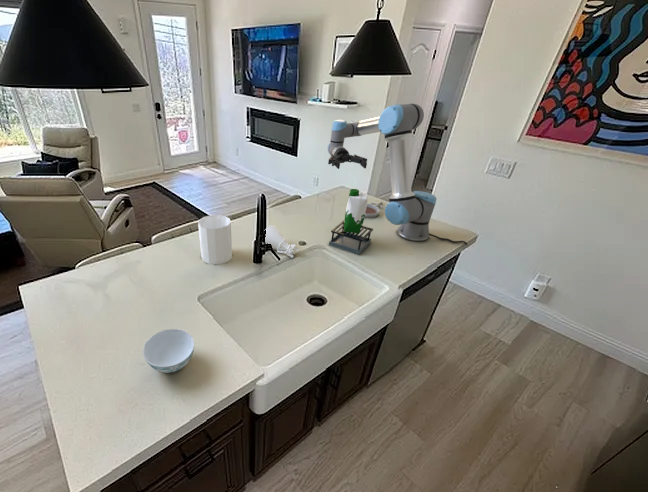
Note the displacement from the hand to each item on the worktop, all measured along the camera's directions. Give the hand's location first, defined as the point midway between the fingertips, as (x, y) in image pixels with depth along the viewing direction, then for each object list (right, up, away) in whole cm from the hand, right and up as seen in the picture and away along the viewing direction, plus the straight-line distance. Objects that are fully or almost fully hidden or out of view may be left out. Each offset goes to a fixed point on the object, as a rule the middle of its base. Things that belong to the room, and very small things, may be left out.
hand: (352, 165), depth 163 cm
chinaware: (-74, -81, -60) cm, 125 cm away
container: (-67, -45, -7) cm, 81 cm away
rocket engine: (-37, -43, -3) cm, 57 cm away
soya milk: (0, -32, -1) cm, 32 cm away
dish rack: (0, -39, +4) cm, 39 cm away
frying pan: (+22, -15, +39) cm, 47 cm away
